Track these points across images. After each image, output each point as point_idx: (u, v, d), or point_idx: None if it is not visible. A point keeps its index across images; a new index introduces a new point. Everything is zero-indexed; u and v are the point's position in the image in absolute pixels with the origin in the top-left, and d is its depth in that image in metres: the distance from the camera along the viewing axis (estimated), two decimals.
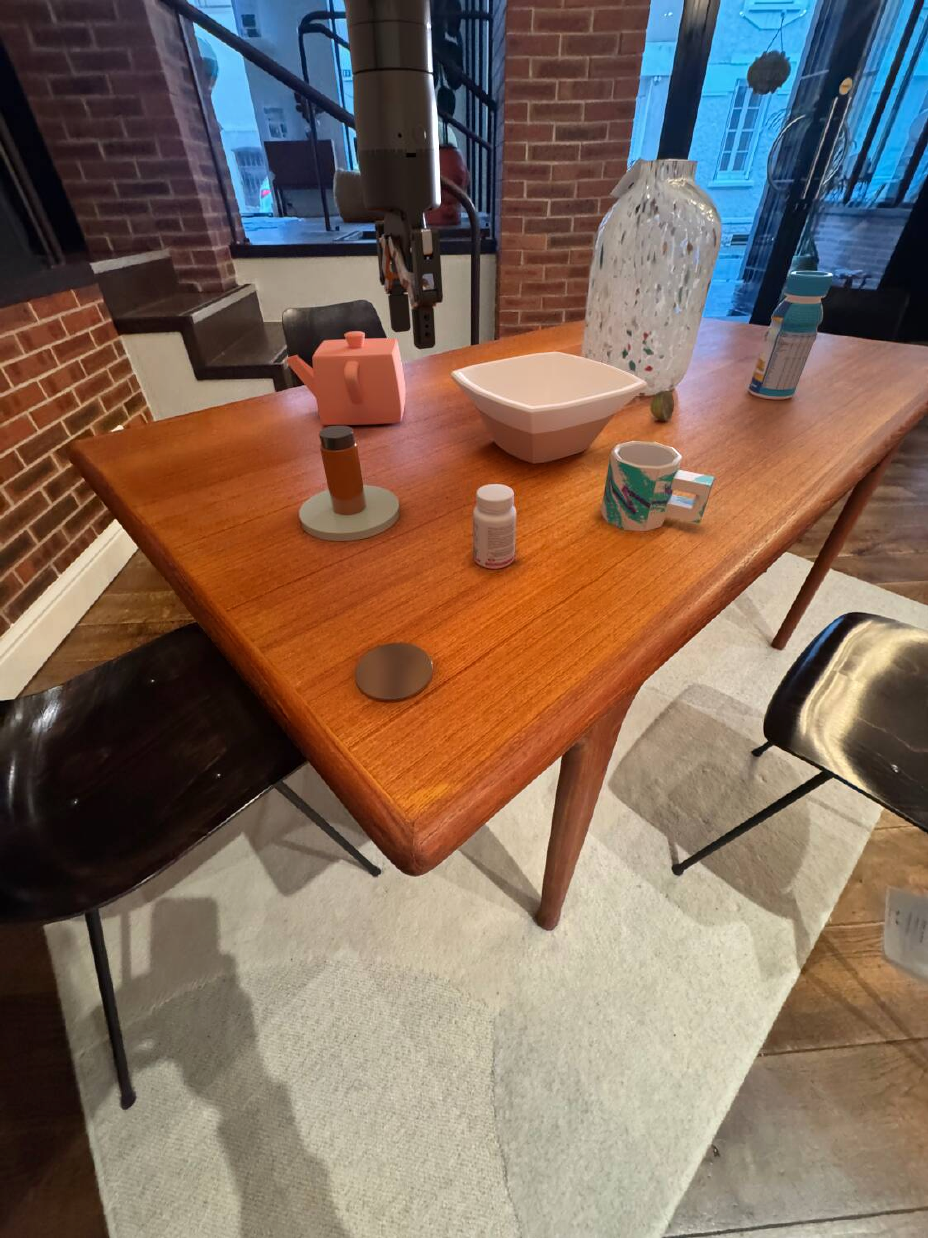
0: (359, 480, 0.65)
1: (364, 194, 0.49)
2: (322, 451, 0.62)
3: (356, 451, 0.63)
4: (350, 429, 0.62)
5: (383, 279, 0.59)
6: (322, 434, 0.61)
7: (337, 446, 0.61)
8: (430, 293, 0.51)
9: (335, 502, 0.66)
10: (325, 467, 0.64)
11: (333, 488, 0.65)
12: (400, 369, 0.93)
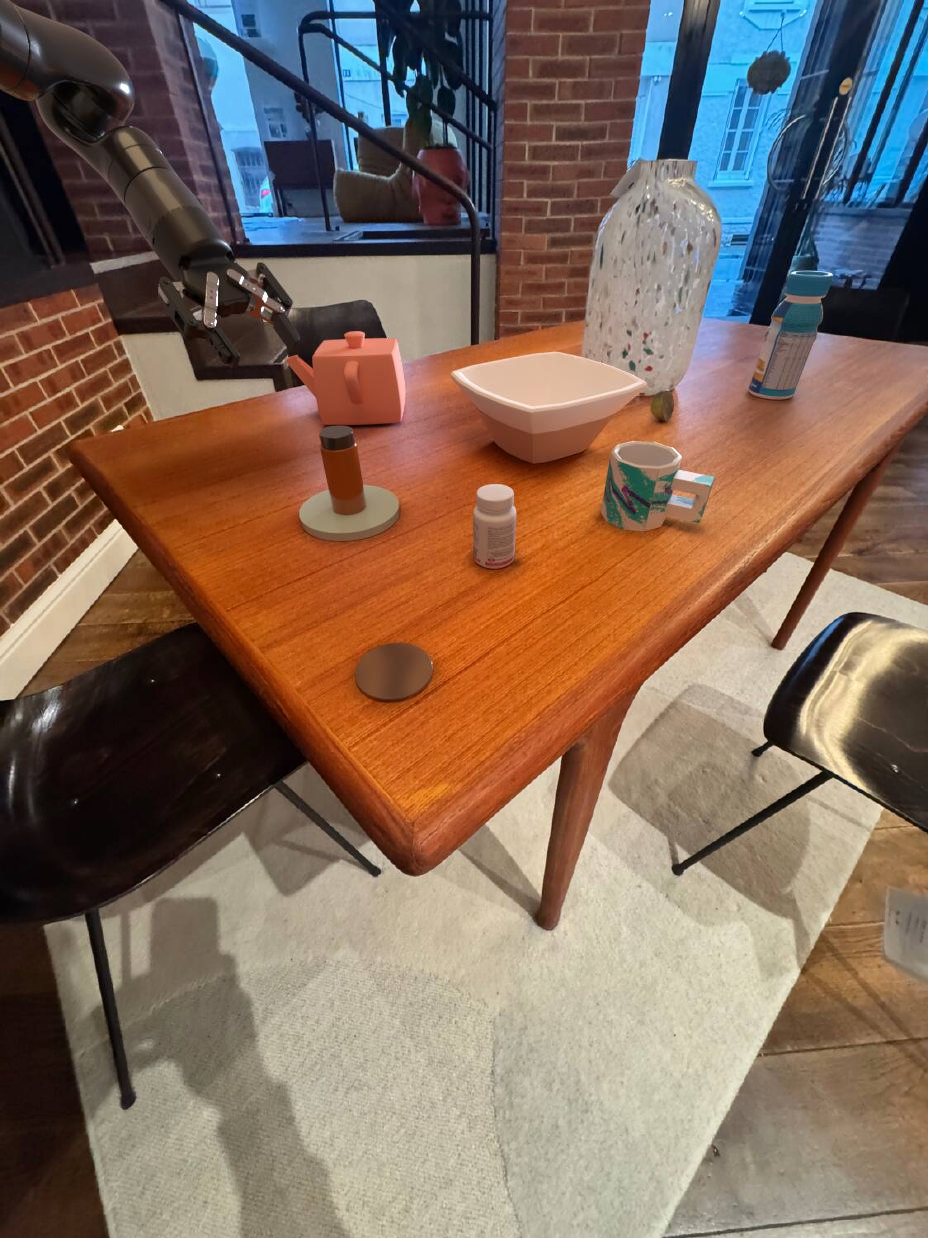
0: (359, 480, 0.65)
1: None
2: (322, 451, 0.62)
3: (356, 451, 0.63)
4: (350, 429, 0.62)
5: None
6: (322, 434, 0.61)
7: (337, 446, 0.61)
8: (184, 326, 0.58)
9: (335, 502, 0.66)
10: (325, 467, 0.64)
11: (333, 488, 0.65)
12: (400, 369, 0.93)
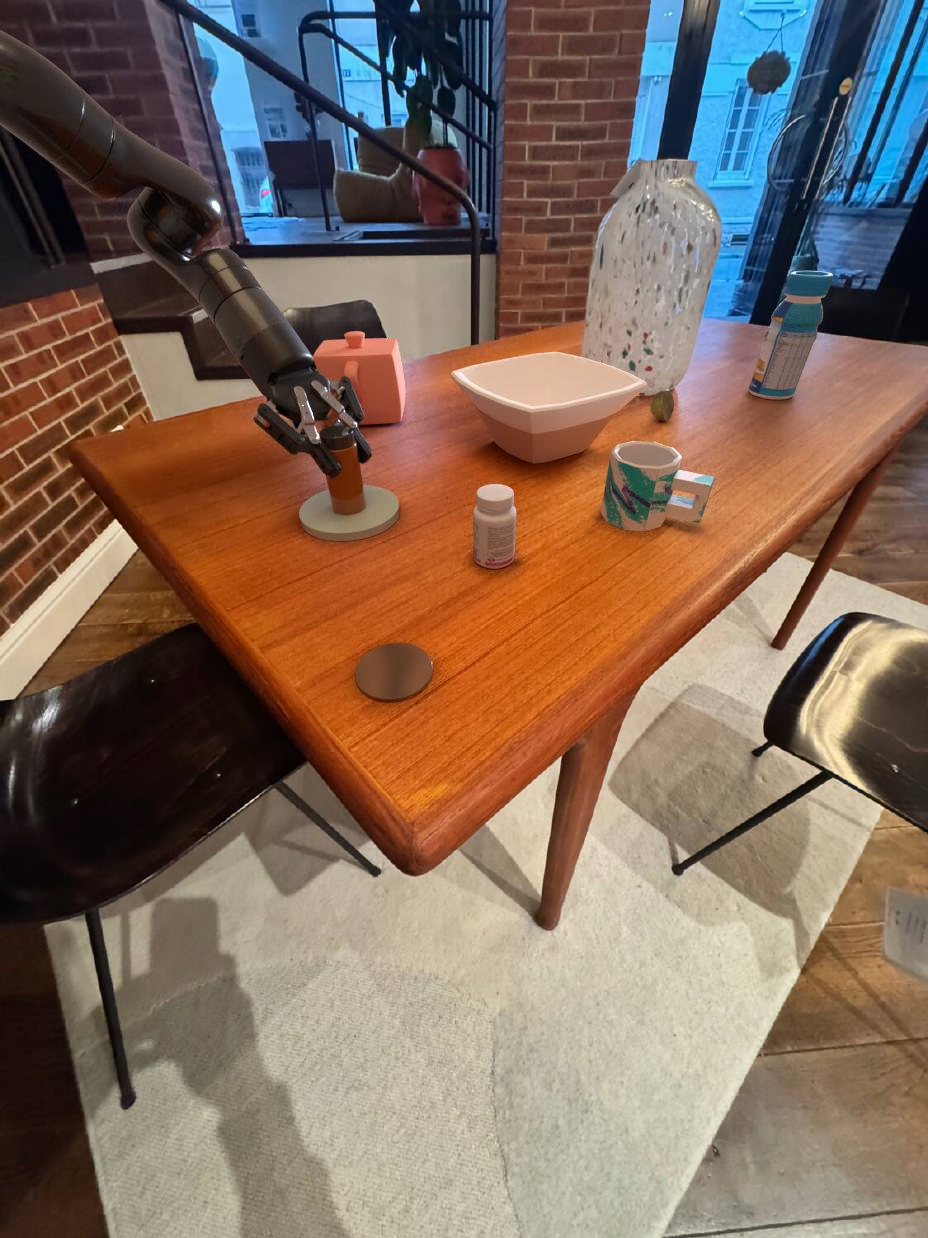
0: (359, 480, 0.65)
1: None
2: None
3: (356, 451, 0.63)
4: (350, 429, 0.62)
5: None
6: (322, 434, 0.61)
7: (337, 446, 0.61)
8: (291, 443, 0.60)
9: (335, 502, 0.66)
10: None
11: (333, 488, 0.65)
12: (400, 369, 0.93)
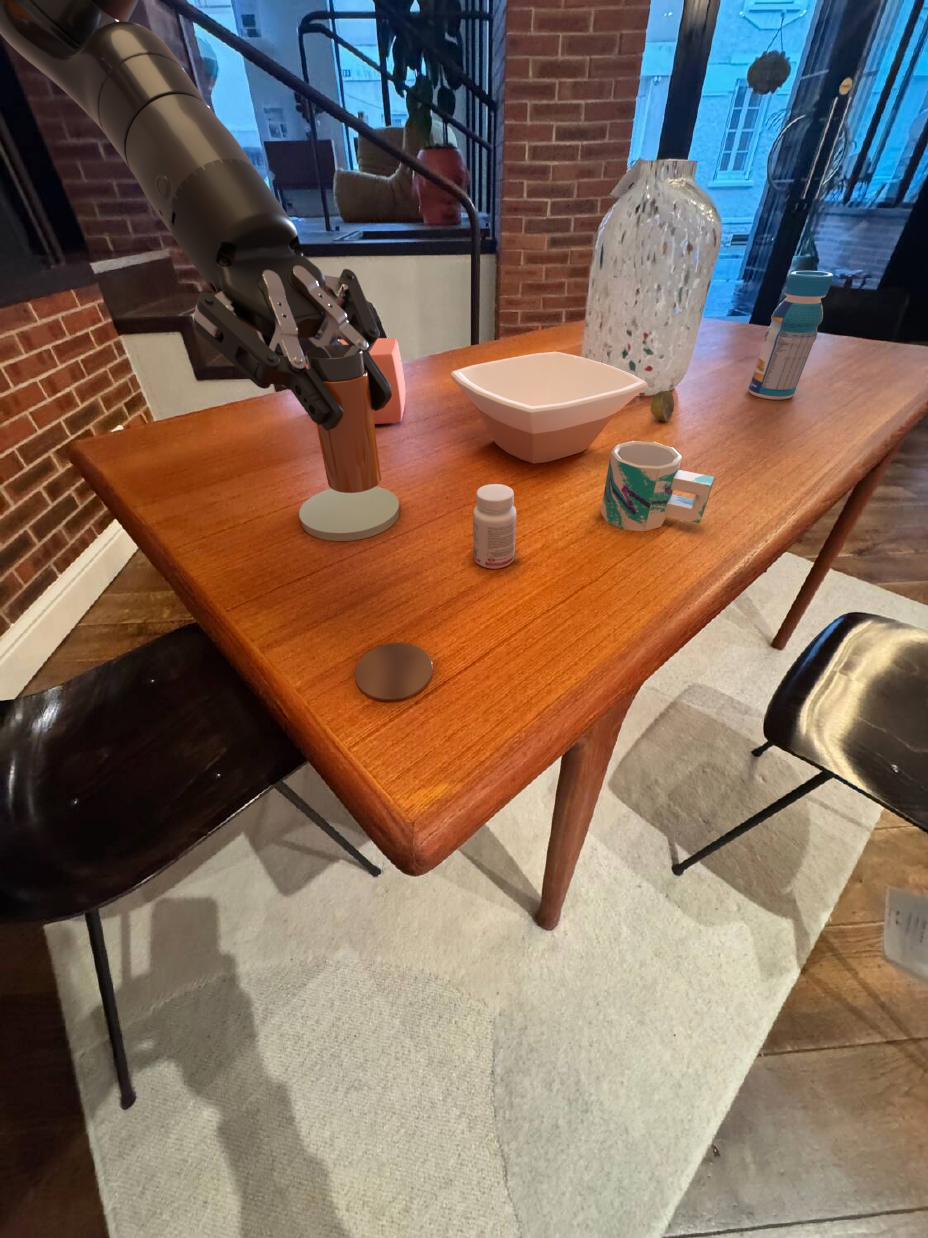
0: (371, 436, 0.41)
1: None
2: None
3: (367, 386, 0.39)
4: (357, 348, 0.38)
5: None
6: (311, 354, 0.37)
7: (336, 374, 0.37)
8: (257, 367, 0.35)
9: (332, 472, 0.41)
10: None
11: (329, 449, 0.40)
12: (400, 369, 0.93)
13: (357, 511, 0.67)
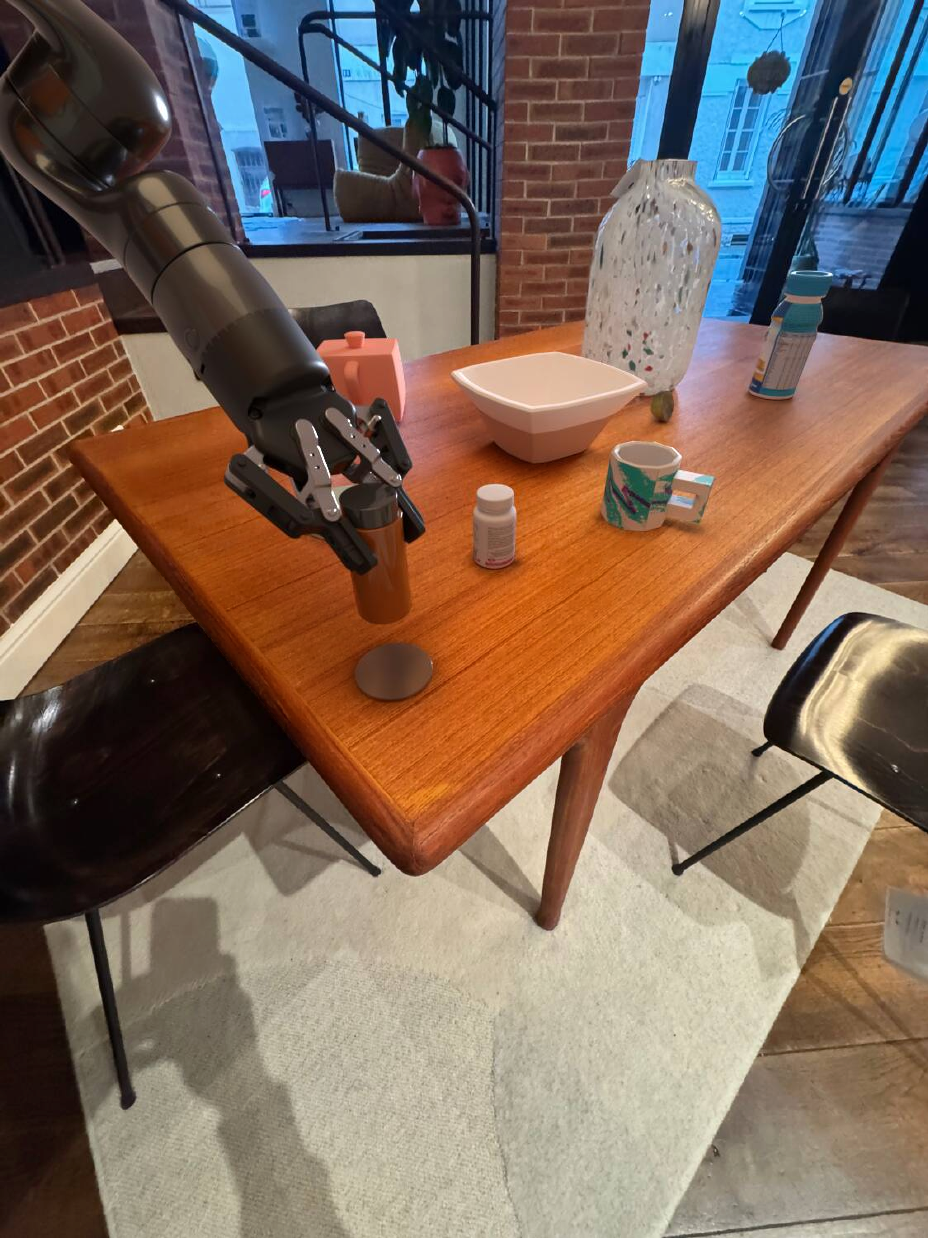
0: (404, 571, 0.39)
1: None
2: None
3: (401, 527, 0.37)
4: (392, 491, 0.36)
5: None
6: (345, 501, 0.35)
7: (371, 523, 0.35)
8: (290, 522, 0.34)
9: (363, 605, 0.40)
10: None
11: (361, 587, 0.39)
12: (400, 369, 0.93)
13: None
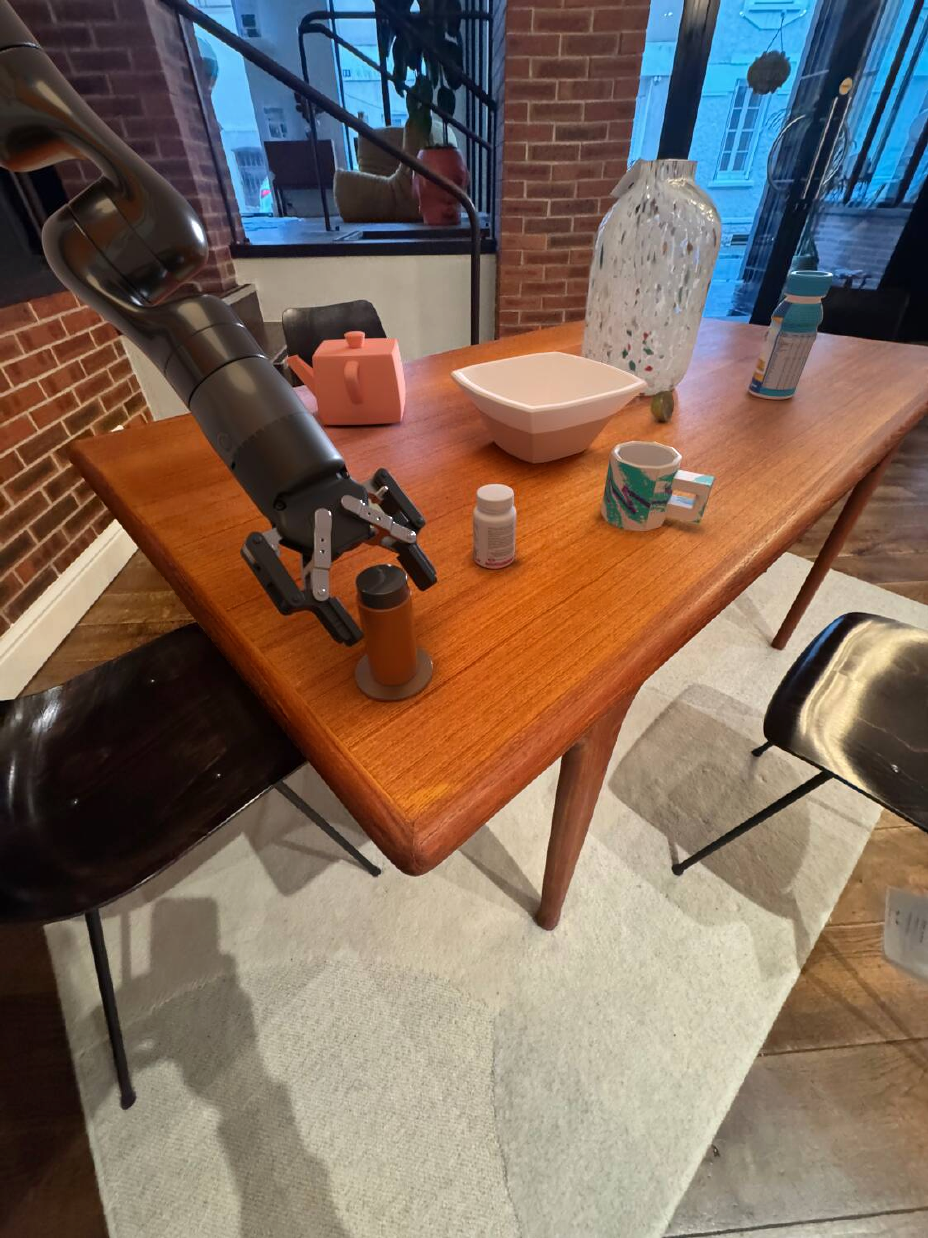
0: (413, 640, 0.44)
1: None
2: (360, 608, 0.41)
3: (410, 604, 0.42)
4: (402, 574, 0.41)
5: None
6: (361, 584, 0.40)
7: (384, 604, 0.40)
8: (283, 602, 0.37)
9: (375, 669, 0.45)
10: (363, 627, 0.42)
11: (374, 655, 0.43)
12: (400, 369, 0.93)
13: None
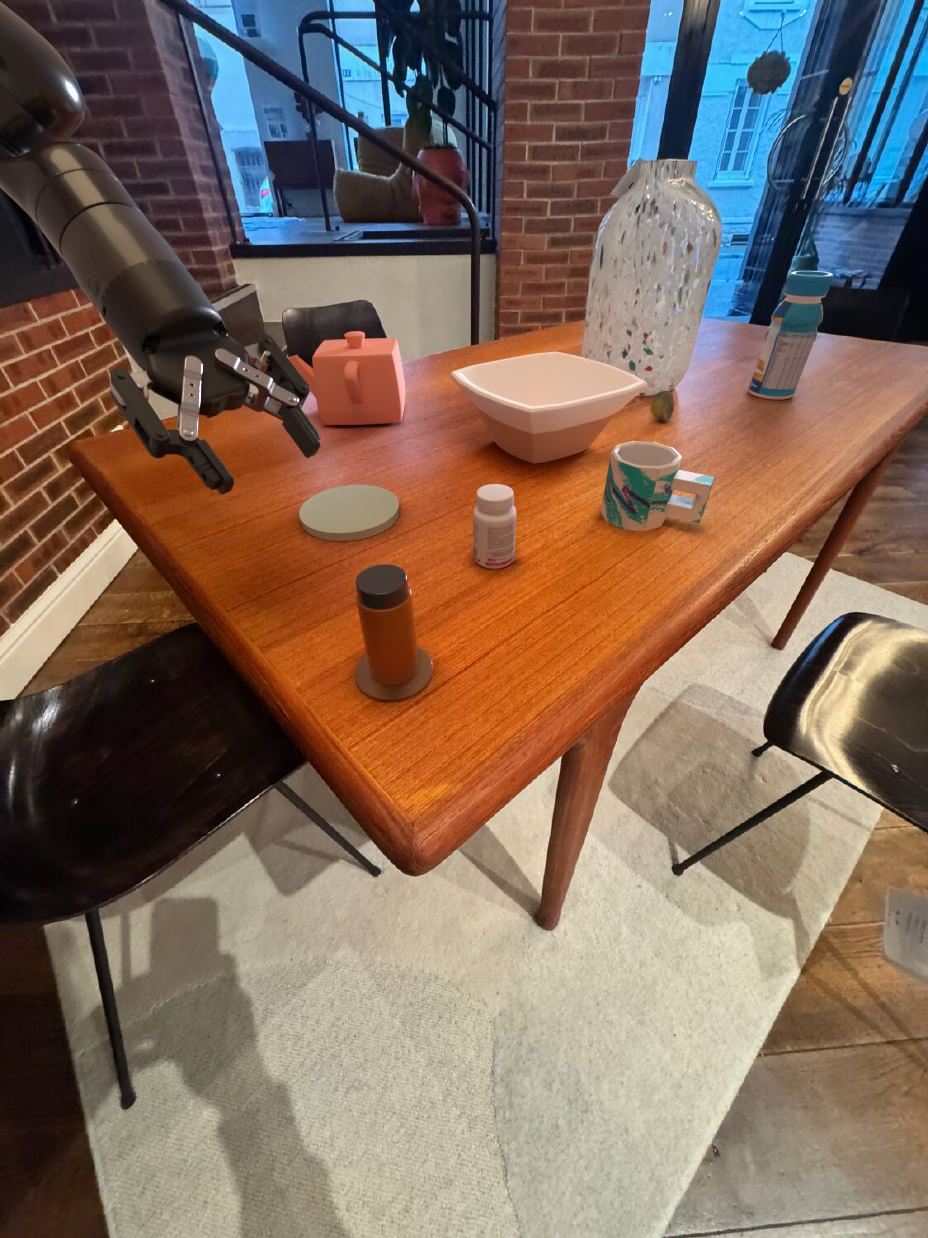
0: (413, 640, 0.44)
1: None
2: (360, 608, 0.41)
3: (410, 604, 0.42)
4: (402, 574, 0.41)
5: None
6: (361, 584, 0.40)
7: (384, 604, 0.40)
8: (149, 440, 0.38)
9: (375, 669, 0.45)
10: (363, 627, 0.42)
11: (374, 655, 0.43)
12: (400, 369, 0.93)
13: (357, 511, 0.67)
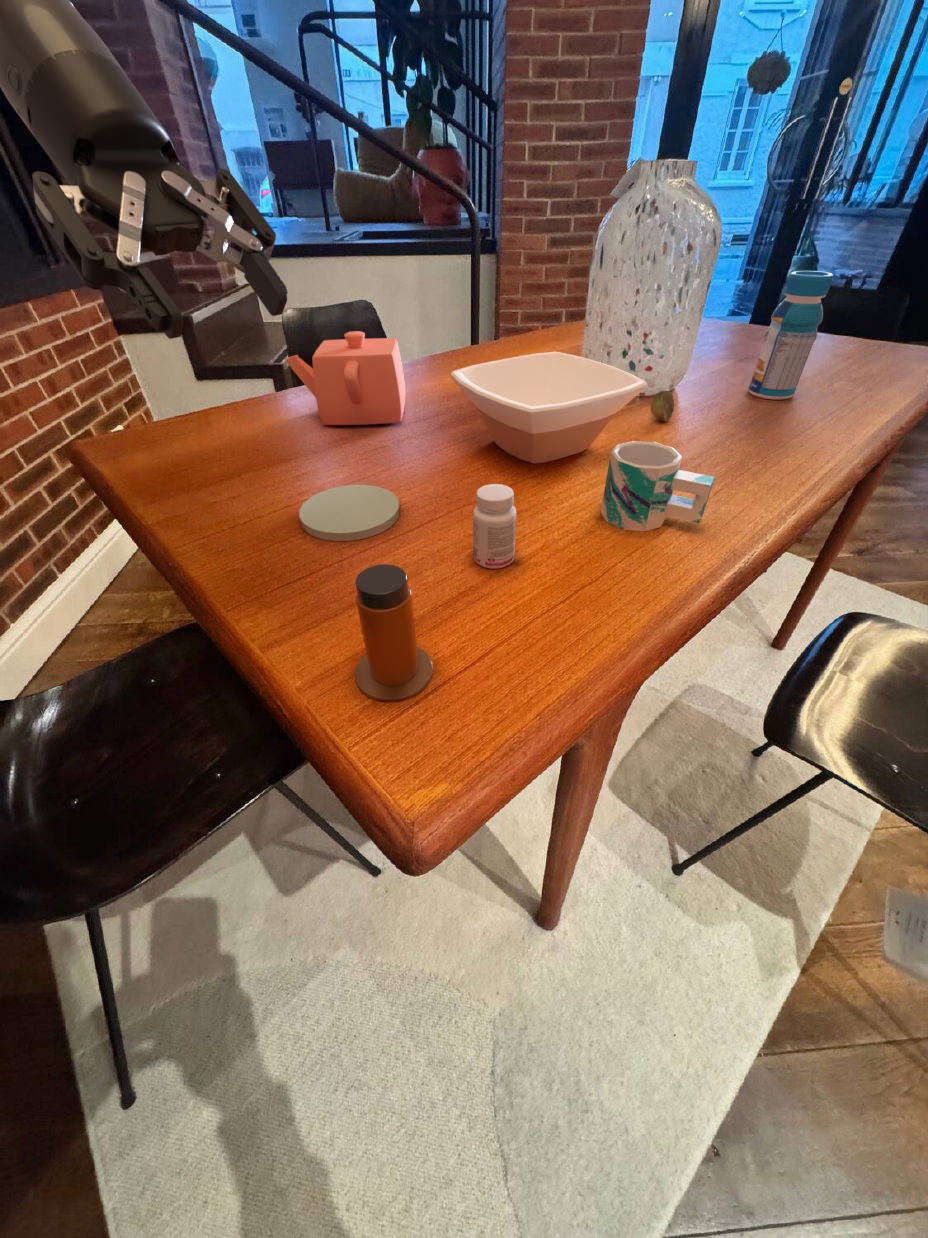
0: (413, 640, 0.44)
1: None
2: (360, 608, 0.41)
3: (410, 604, 0.42)
4: (402, 574, 0.41)
5: None
6: (361, 584, 0.40)
7: (384, 604, 0.40)
8: (82, 263, 0.33)
9: (375, 669, 0.45)
10: (363, 627, 0.42)
11: (374, 655, 0.43)
12: (400, 369, 0.93)
13: (357, 511, 0.67)
